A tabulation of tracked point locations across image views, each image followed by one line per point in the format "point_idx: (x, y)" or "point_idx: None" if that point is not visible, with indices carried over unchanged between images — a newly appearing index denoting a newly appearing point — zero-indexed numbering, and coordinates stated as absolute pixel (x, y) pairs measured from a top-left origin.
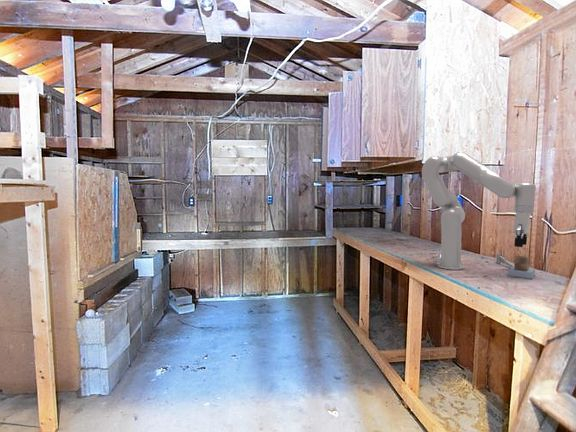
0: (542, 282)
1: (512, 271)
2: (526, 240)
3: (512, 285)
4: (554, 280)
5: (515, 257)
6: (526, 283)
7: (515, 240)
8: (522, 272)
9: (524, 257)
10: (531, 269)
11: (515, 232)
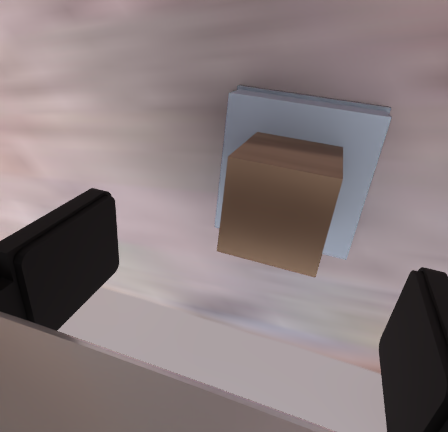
0: (186, 249)
1: (228, 119)
2: (391, 410)
3: (34, 118)
4: (267, 306)
5: (227, 162)
6: (117, 180)
7: (31, 232)
8: (222, 179)
9: (264, 236)
10: (334, 241)
11: (165, 370)
